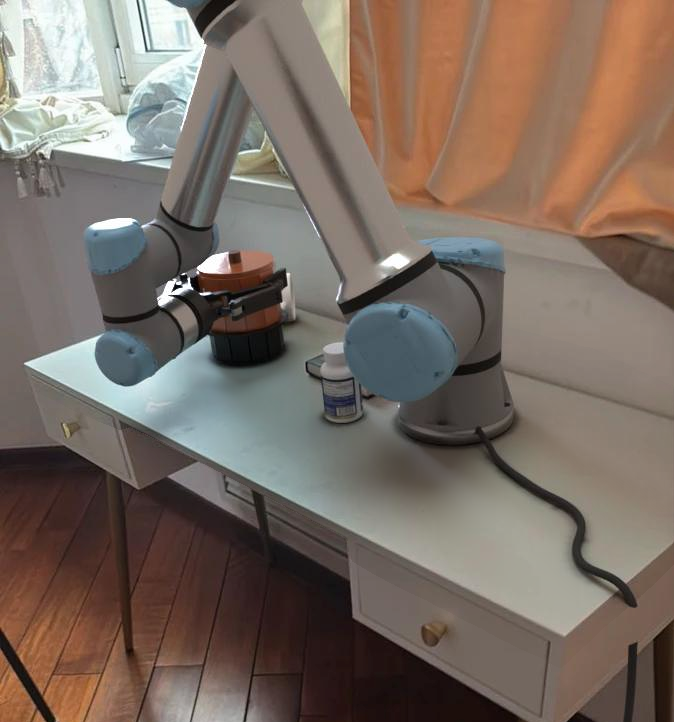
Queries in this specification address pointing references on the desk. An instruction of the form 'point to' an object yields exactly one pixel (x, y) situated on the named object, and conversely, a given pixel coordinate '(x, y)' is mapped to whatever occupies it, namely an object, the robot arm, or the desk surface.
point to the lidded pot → (239, 285)
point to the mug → (289, 299)
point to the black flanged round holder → (249, 344)
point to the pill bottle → (339, 387)
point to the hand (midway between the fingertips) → (248, 275)
